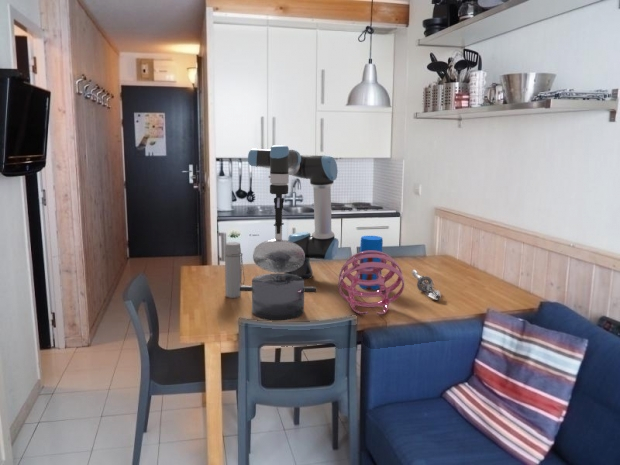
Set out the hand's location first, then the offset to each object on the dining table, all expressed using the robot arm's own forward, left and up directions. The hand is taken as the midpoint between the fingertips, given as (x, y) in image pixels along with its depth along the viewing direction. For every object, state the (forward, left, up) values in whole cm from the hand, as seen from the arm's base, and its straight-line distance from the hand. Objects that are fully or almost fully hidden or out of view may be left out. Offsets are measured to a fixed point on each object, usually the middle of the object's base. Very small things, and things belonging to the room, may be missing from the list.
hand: (278, 240), depth 214 cm
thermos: (-39, +44, -31) cm, 67 cm away
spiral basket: (-4, +40, -31) cm, 51 cm away
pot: (0, 0, -31) cm, 31 cm away
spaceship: (-33, +70, -31) cm, 83 cm away
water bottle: (-20, -21, -31) cm, 43 cm away
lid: (-4, 0, -9) cm, 10 cm away
